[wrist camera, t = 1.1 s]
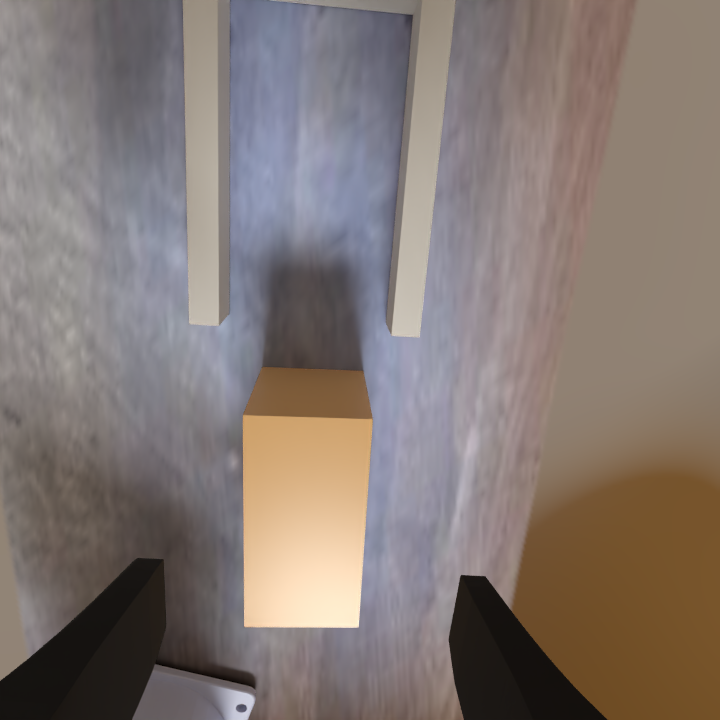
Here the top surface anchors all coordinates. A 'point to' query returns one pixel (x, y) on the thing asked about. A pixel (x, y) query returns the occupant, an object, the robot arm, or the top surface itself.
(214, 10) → the green base with dome
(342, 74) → the top surface
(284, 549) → the chute block
